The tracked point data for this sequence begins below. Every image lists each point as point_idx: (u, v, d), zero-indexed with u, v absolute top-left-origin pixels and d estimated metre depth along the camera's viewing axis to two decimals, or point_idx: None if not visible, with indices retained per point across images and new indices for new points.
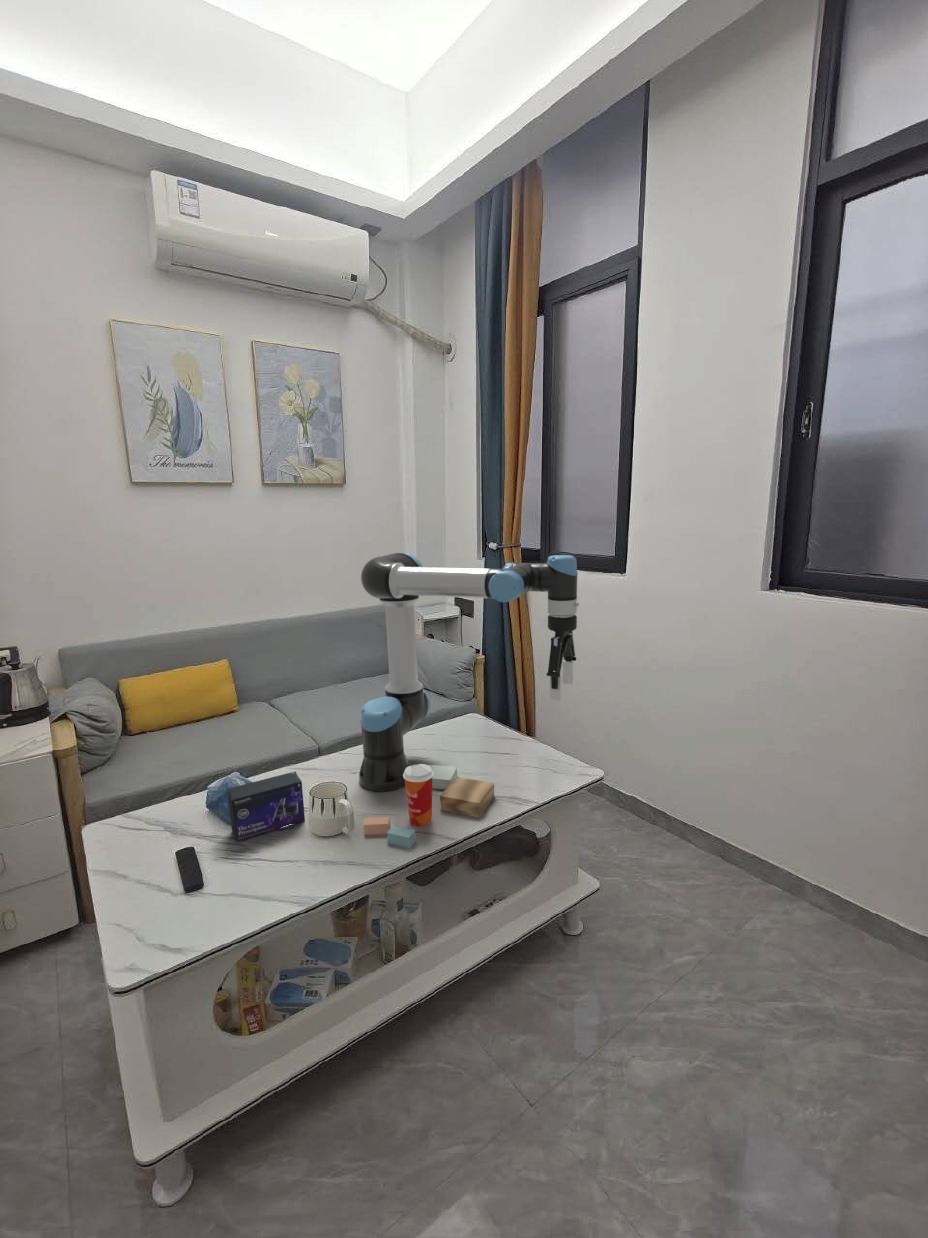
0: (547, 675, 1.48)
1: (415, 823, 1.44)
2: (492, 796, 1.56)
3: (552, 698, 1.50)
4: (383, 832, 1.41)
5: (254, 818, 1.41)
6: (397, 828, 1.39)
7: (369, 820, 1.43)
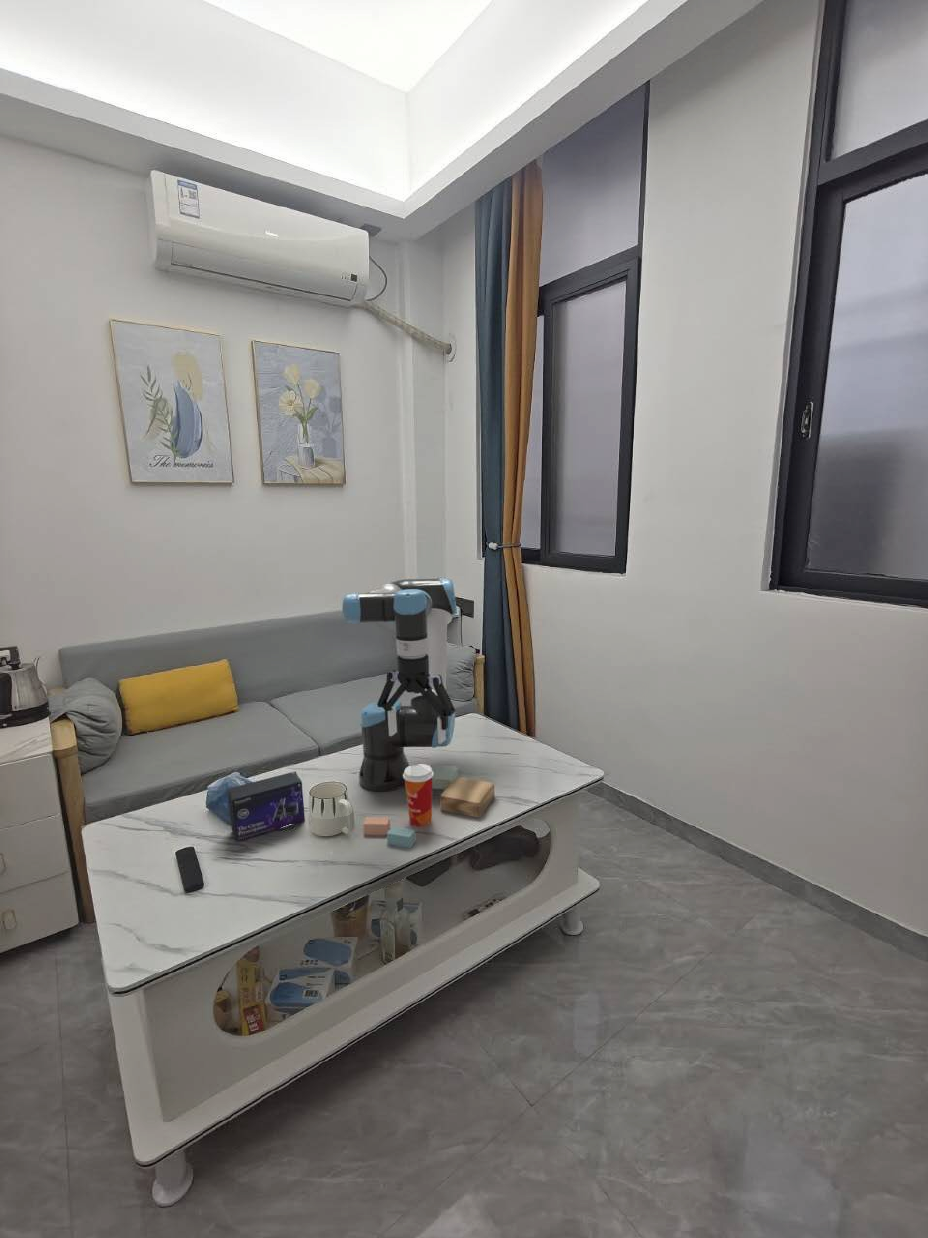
0: None
1: (415, 823, 1.44)
2: (492, 796, 1.56)
3: None
4: (382, 832, 1.41)
5: (254, 818, 1.41)
6: (396, 828, 1.39)
7: (369, 820, 1.43)
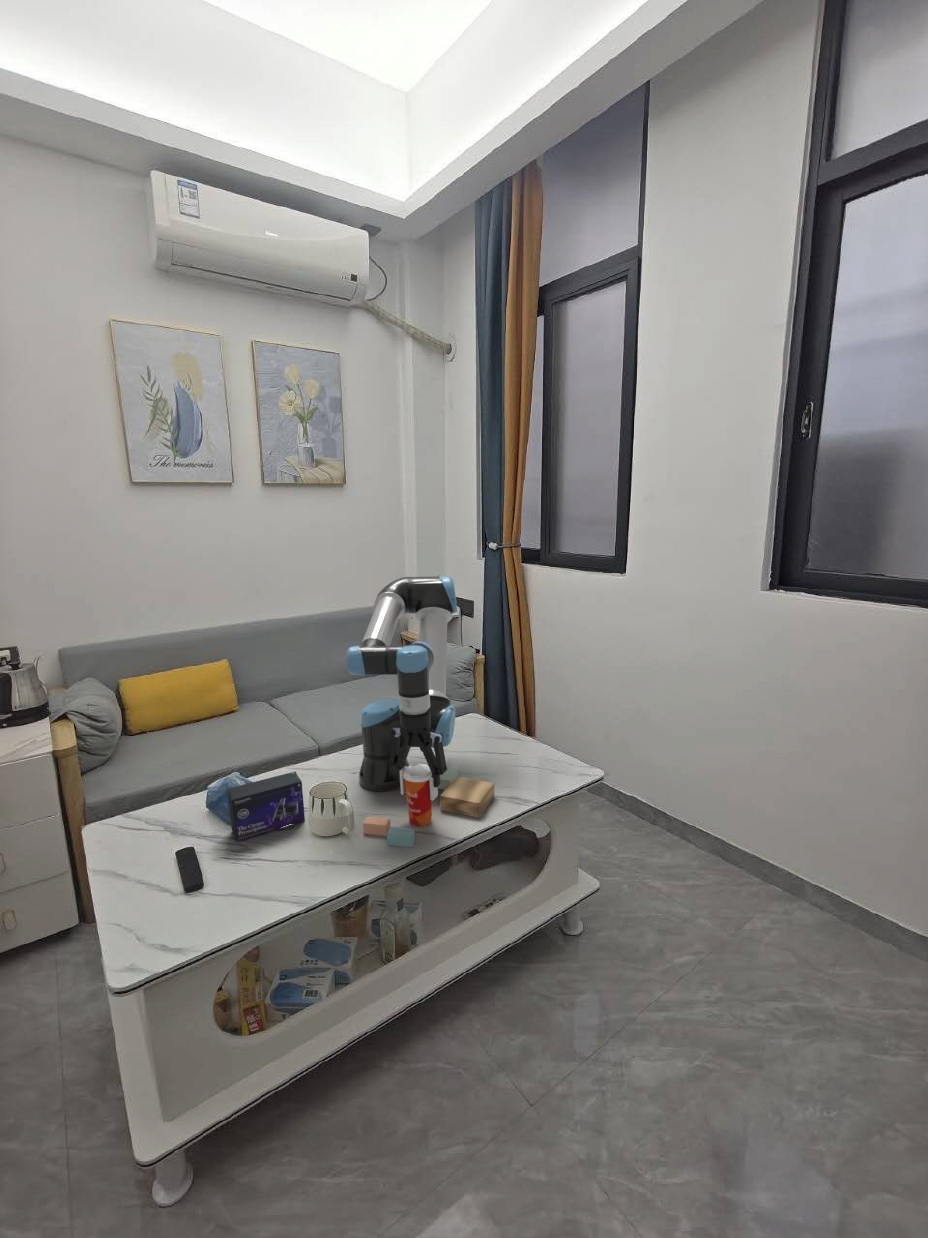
0: None
1: (415, 823, 1.44)
2: (492, 796, 1.56)
3: None
4: (381, 833, 1.41)
5: (254, 818, 1.41)
6: (396, 828, 1.39)
7: (370, 819, 1.43)
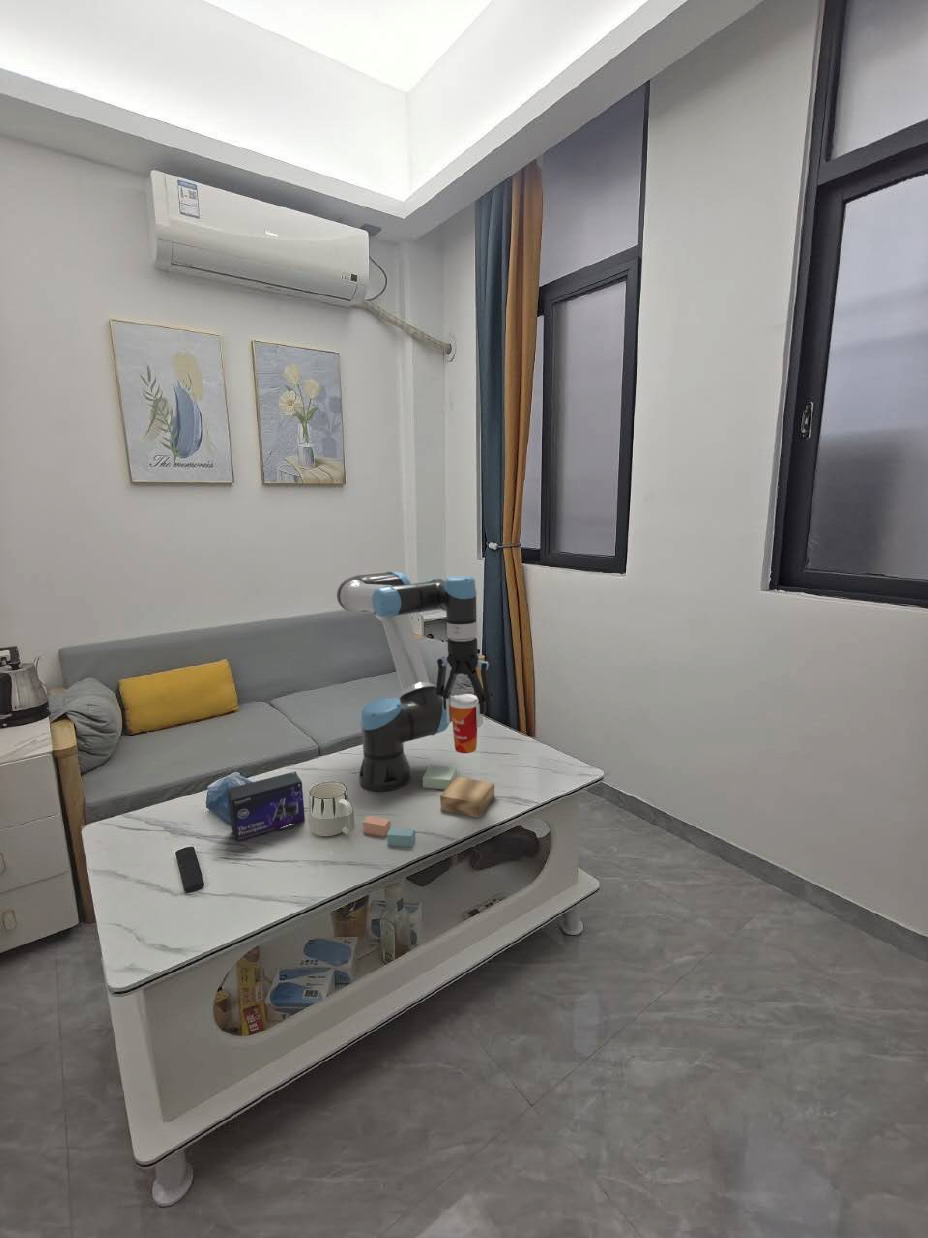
0: None
1: (461, 750, 1.49)
2: (492, 796, 1.56)
3: None
4: (380, 833, 1.41)
5: (254, 818, 1.41)
6: (395, 829, 1.39)
7: (370, 819, 1.43)
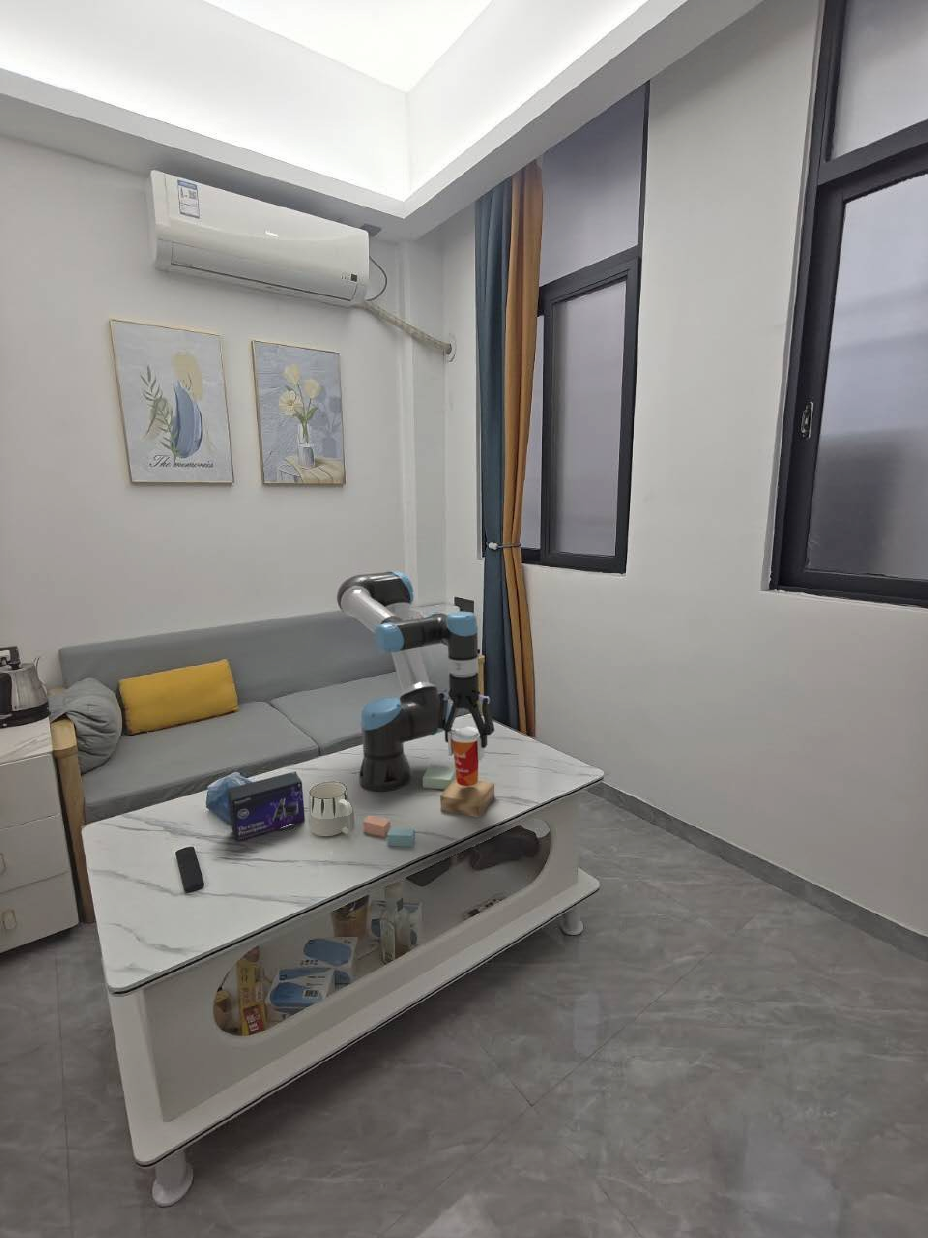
0: None
1: (463, 783, 1.50)
2: (492, 796, 1.56)
3: None
4: (379, 834, 1.41)
5: (254, 818, 1.41)
6: (395, 829, 1.39)
7: (371, 818, 1.43)
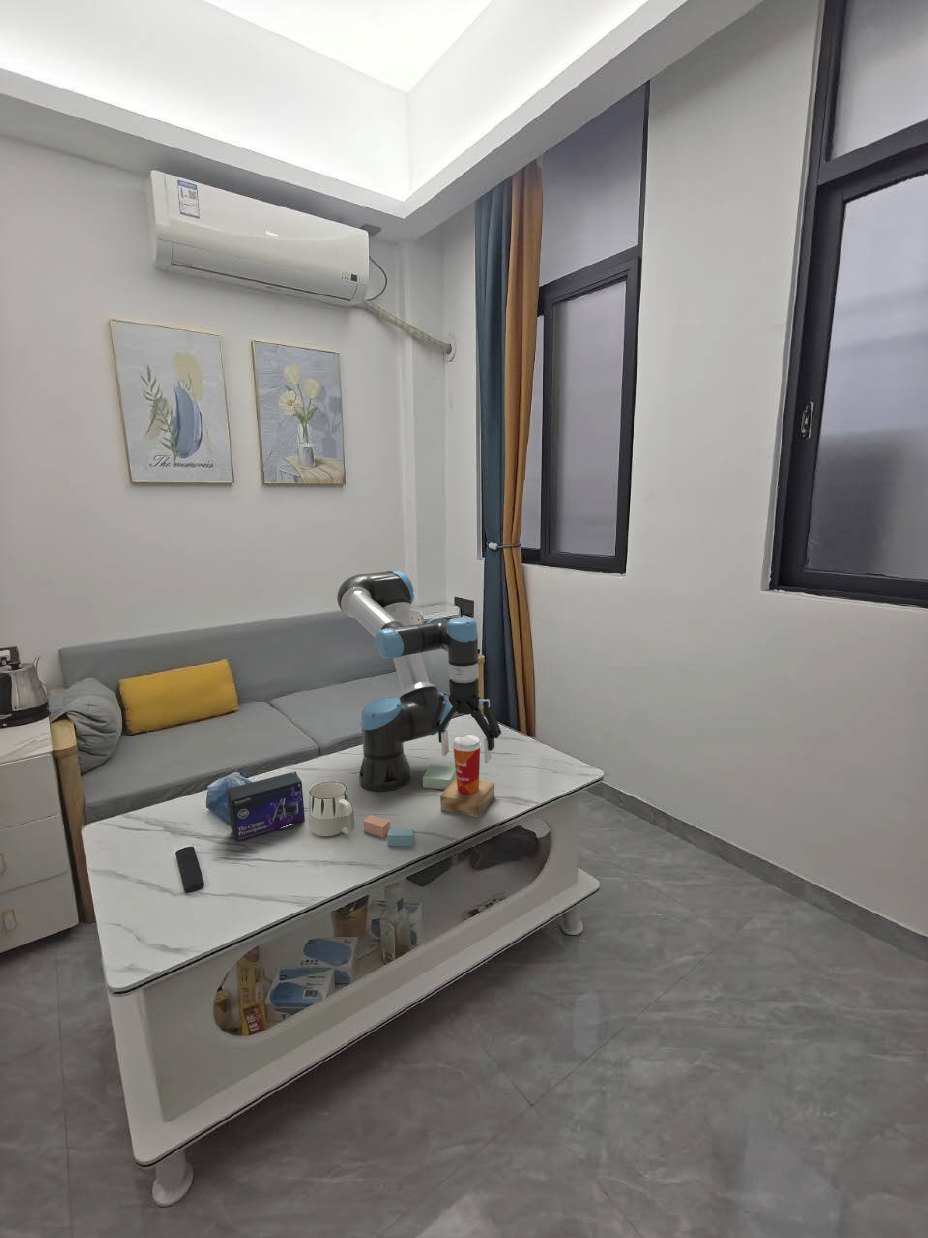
0: None
1: (463, 791, 1.51)
2: (492, 796, 1.56)
3: None
4: (378, 834, 1.41)
5: (254, 818, 1.41)
6: (395, 829, 1.39)
7: (371, 818, 1.44)
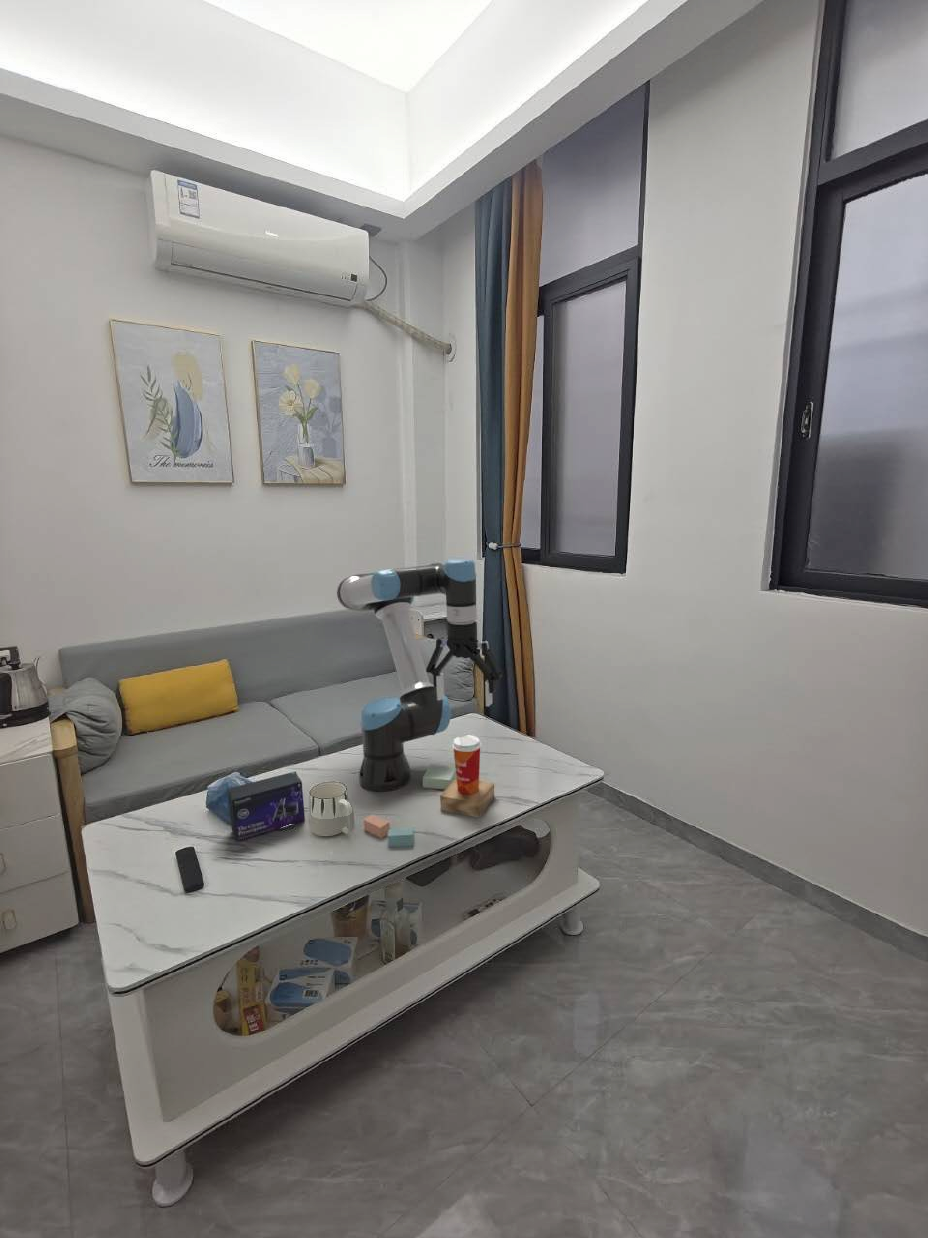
0: None
1: (463, 791, 1.51)
2: (492, 796, 1.56)
3: None
4: (377, 834, 1.41)
5: (254, 818, 1.41)
6: (395, 829, 1.38)
7: (372, 818, 1.44)
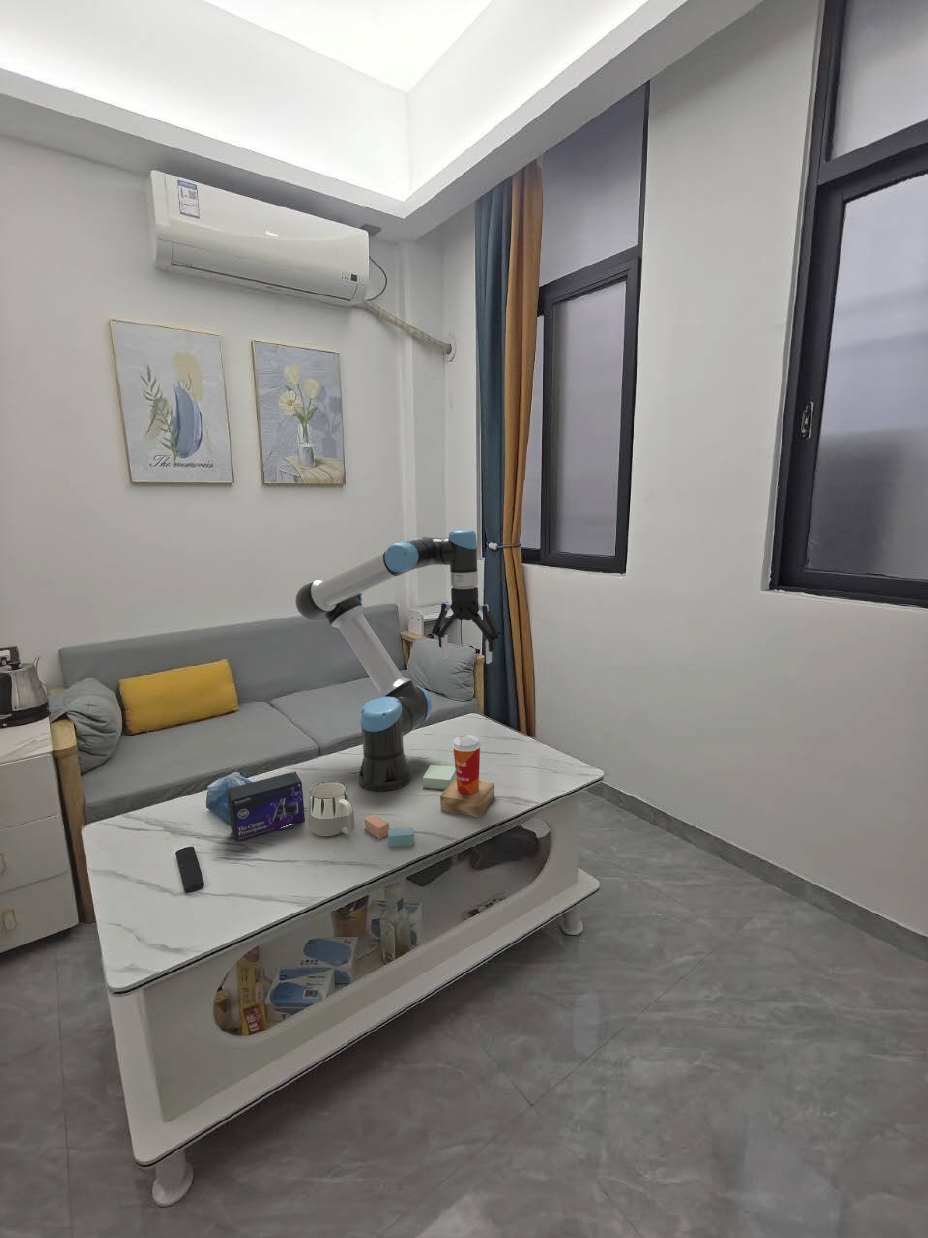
0: None
1: (463, 791, 1.51)
2: (492, 796, 1.56)
3: None
4: (376, 834, 1.41)
5: (254, 818, 1.41)
6: (394, 830, 1.38)
7: (373, 817, 1.44)
